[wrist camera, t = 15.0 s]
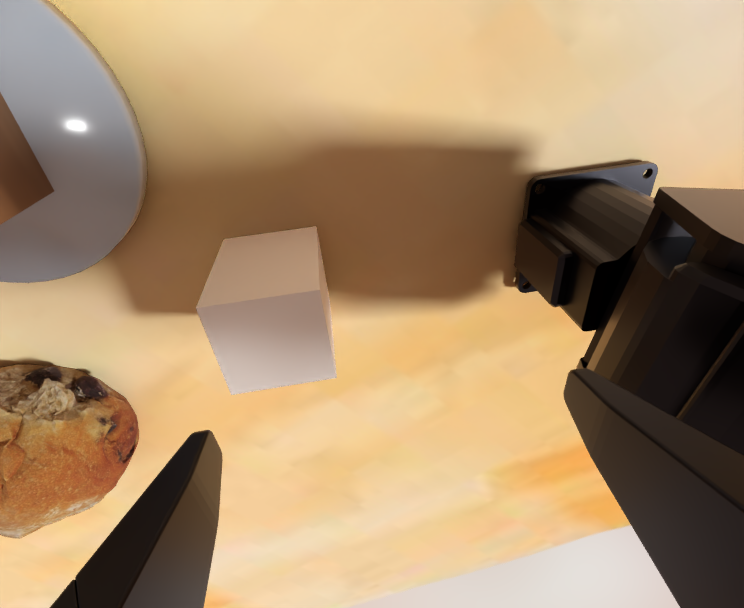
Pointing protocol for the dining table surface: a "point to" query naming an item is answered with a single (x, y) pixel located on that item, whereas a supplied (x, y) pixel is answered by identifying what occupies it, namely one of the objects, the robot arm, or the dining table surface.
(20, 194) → the walnut block
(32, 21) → the dish
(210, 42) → the dining table surface
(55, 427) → the bread roll
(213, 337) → the beige block
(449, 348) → the dining table surface
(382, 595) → the dining table surface
